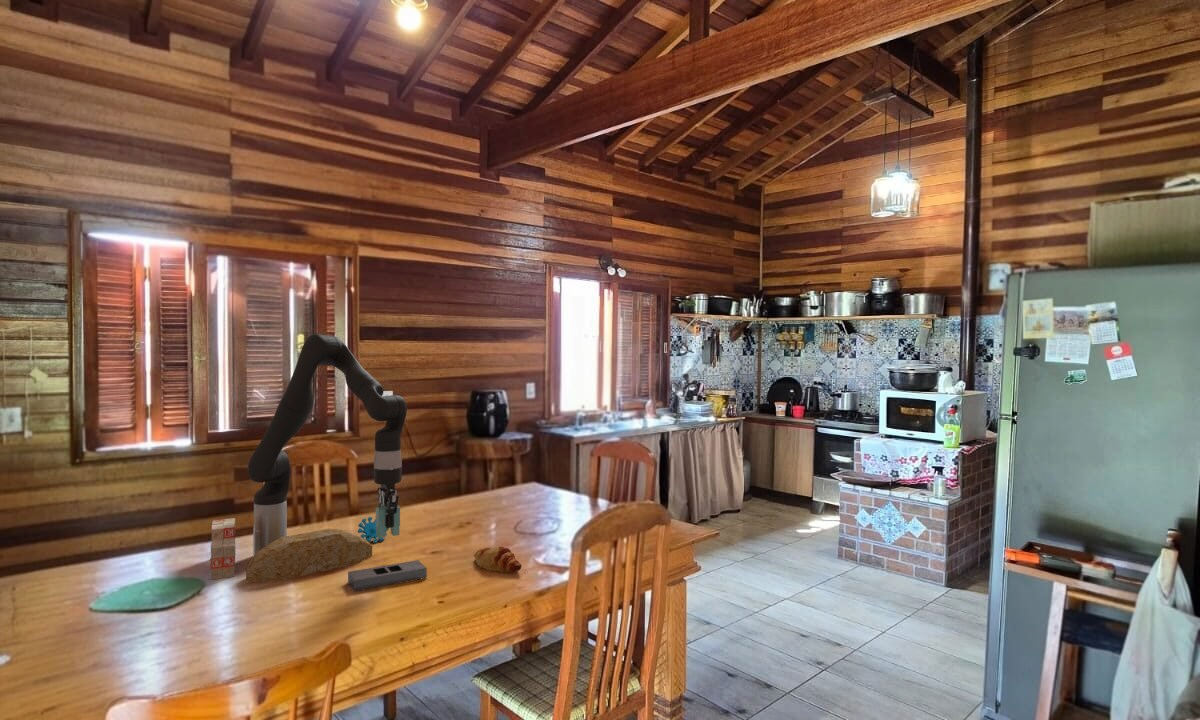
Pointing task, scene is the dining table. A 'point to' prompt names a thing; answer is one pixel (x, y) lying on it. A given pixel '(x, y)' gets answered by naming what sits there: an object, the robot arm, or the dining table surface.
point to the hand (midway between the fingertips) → (387, 525)
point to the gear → (370, 530)
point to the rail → (386, 575)
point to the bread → (306, 555)
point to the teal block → (381, 522)
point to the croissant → (497, 559)
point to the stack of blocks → (223, 549)
